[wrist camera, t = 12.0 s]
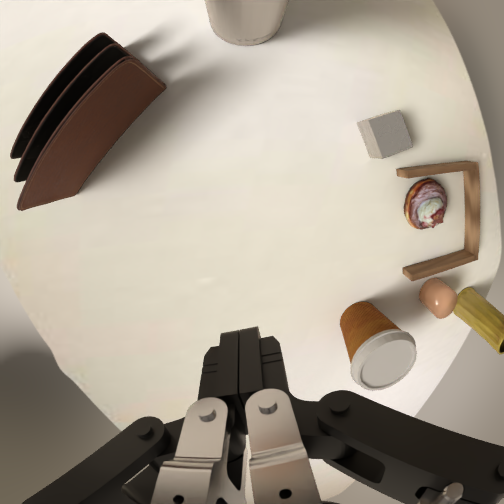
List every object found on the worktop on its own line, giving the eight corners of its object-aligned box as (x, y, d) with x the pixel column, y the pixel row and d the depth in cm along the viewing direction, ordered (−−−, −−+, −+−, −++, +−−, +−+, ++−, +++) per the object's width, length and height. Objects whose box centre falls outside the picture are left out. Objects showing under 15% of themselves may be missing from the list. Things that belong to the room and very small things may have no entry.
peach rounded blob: (419, 281, 41) (435, 295, 37) (442, 274, 41) (459, 286, 37) (418, 307, 43) (432, 322, 38) (440, 299, 43) (455, 313, 38)
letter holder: (168, 87, 31) (129, 54, 18) (75, 196, 35) (13, 220, 22) (123, 47, 29) (74, 9, 15) (39, 153, 33) (-26, 162, 19)
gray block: (356, 122, 34) (368, 120, 30) (385, 112, 33) (399, 109, 29) (369, 157, 35) (382, 158, 31) (398, 146, 35) (413, 146, 31)
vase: (448, 315, 44) (491, 358, 31) (459, 286, 42) (508, 325, 29) (467, 315, 45) (509, 354, 31) (478, 287, 43) (524, 323, 29)
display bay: (396, 169, 35) (407, 170, 33) (466, 160, 35) (478, 162, 32) (402, 273, 41) (412, 281, 38) (467, 253, 40) (477, 259, 37)
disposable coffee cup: (395, 302, 42) (431, 344, 31) (364, 348, 45) (391, 396, 34) (349, 283, 41) (382, 328, 30) (319, 334, 44) (339, 387, 32)
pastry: (410, 236, 39) (427, 246, 34) (394, 191, 37) (412, 197, 32) (446, 213, 38) (465, 221, 33) (433, 169, 36) (453, 172, 31)
